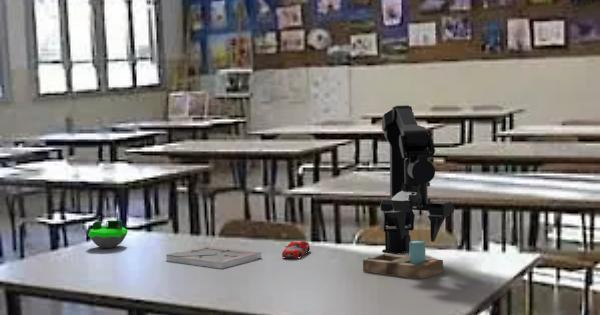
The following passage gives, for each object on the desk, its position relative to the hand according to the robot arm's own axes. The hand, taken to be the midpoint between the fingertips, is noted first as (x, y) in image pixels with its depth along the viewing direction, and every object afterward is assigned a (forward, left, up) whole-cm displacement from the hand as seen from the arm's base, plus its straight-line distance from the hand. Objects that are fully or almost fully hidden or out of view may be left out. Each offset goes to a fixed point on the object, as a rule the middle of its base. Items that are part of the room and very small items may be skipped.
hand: (417, 240), depth 242 cm
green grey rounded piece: (-103, -16, -9) cm, 104 cm away
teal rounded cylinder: (0, 0, -9) cm, 9 cm away
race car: (-43, +4, -9) cm, 44 cm away
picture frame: (-60, -13, -10) cm, 62 cm away
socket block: (-5, 0, -9) cm, 10 cm away
